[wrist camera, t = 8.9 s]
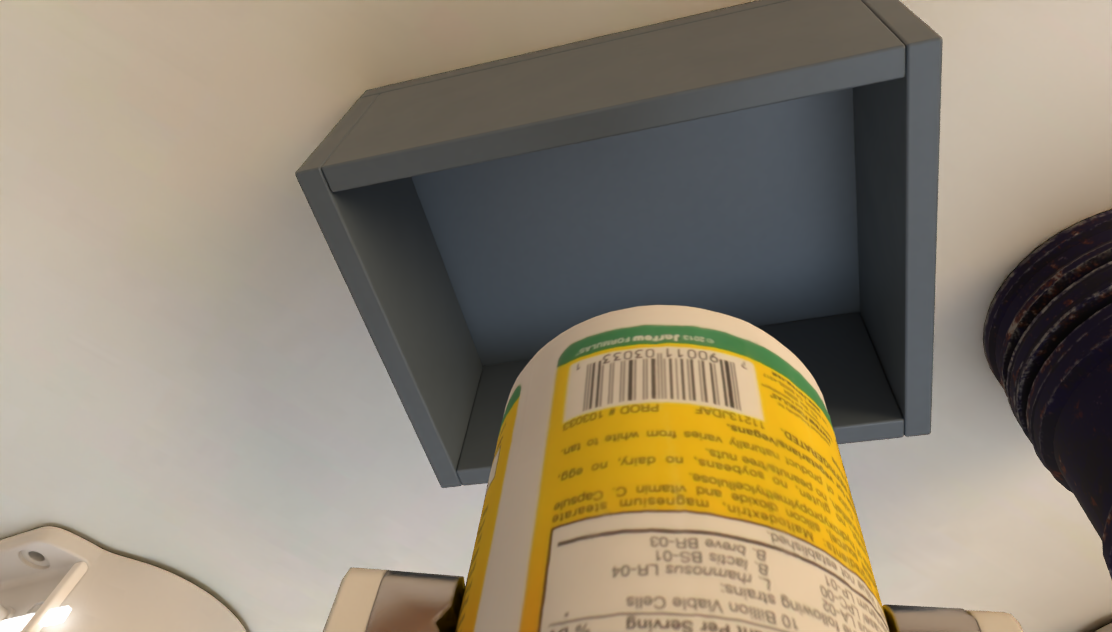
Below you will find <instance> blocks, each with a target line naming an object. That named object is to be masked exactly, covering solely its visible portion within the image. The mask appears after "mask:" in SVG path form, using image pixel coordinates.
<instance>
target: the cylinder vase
mask: <svg viewBox="0 0 1112 632" xmlns="http://www.w3.org/2000/svg"><path fill="white" fill-rule="evenodd" d="M1095 632H1112V623H1110V624H1108V625H1106V626H1104V627H1102V628H1100V629H1099V630H1097V631H1095Z"/></svg>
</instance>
